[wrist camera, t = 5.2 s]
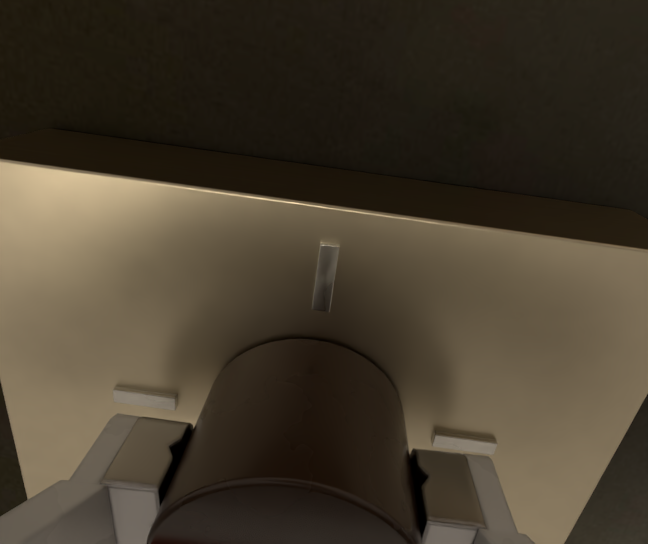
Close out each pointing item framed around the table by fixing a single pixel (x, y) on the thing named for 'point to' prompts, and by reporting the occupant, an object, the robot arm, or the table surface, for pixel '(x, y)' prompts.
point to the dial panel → (318, 304)
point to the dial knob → (294, 455)
